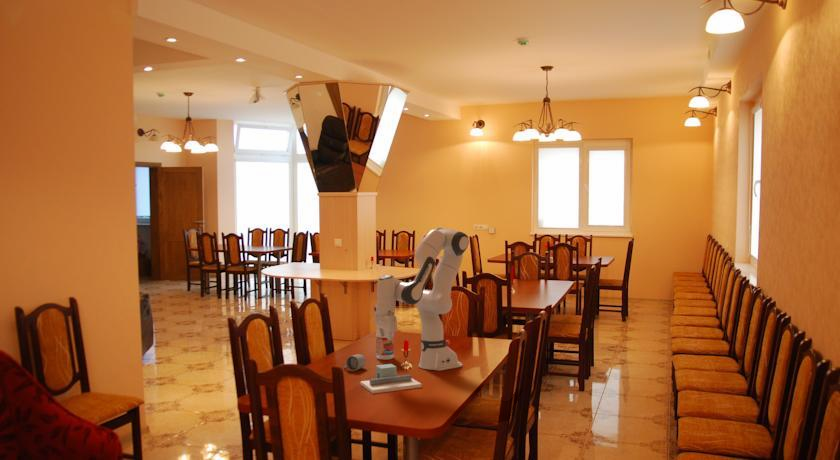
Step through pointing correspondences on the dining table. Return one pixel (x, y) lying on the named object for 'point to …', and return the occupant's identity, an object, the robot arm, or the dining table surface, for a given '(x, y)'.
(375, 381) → the metal rail
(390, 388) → the mounting board
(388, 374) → the channel block
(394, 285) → the robot arm
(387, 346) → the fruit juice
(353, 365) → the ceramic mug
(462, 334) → the dining table surface
